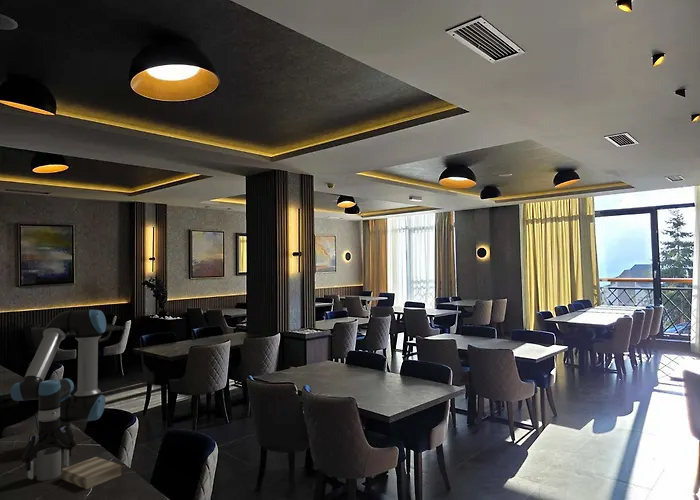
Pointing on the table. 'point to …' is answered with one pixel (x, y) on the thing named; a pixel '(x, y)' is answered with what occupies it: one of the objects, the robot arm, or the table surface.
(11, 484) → the table surface
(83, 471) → the oak stand
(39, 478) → the cup
